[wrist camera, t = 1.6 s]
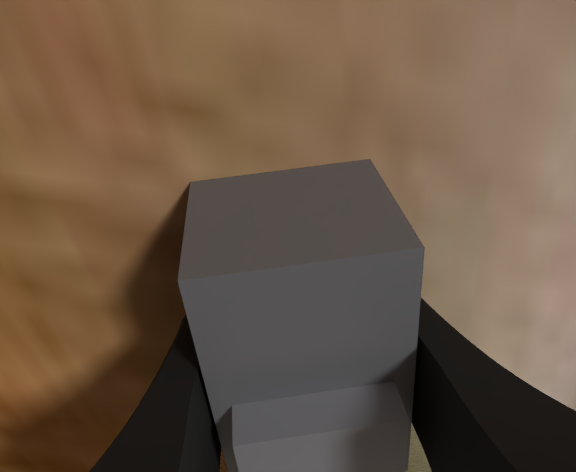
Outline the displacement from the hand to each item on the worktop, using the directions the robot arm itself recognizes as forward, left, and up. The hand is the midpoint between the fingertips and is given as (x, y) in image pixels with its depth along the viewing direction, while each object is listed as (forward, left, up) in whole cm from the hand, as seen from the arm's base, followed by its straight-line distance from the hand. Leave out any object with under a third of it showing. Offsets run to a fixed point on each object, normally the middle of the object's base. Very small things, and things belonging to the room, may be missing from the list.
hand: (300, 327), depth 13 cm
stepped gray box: (0, 0, -2) cm, 2 cm away
